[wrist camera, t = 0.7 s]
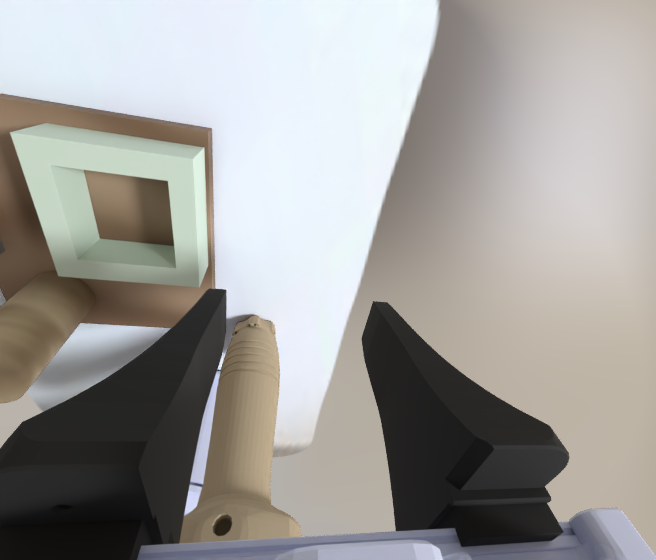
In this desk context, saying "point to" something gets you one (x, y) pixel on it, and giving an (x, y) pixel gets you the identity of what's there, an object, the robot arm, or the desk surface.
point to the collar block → (77, 213)
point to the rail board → (100, 213)
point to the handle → (242, 445)
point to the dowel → (38, 328)
